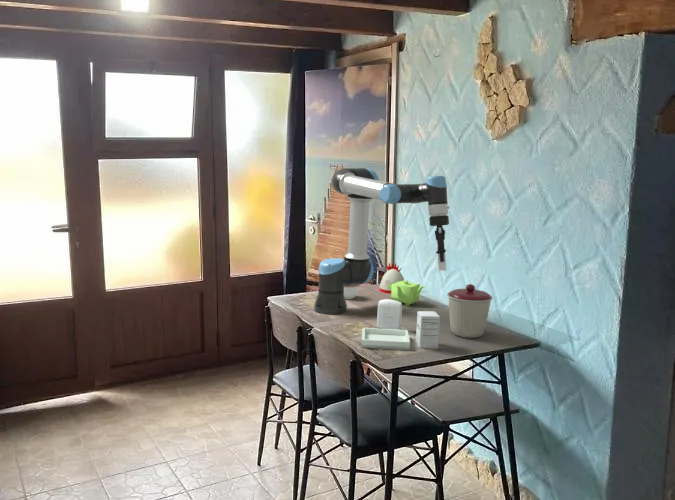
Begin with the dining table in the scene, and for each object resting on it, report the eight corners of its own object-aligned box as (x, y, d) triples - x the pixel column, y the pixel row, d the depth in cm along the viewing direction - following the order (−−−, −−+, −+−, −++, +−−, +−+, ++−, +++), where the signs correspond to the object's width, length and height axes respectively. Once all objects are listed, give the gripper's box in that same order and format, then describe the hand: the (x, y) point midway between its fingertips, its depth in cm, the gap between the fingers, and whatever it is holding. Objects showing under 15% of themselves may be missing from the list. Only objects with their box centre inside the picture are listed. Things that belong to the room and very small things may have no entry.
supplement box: (415, 342, 246) (417, 310, 244) (433, 342, 247) (435, 311, 245) (419, 348, 239) (421, 316, 237) (438, 348, 240) (440, 316, 237)
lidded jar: (335, 295, 318) (336, 277, 316) (356, 295, 319) (357, 277, 318) (338, 300, 307) (338, 281, 306) (359, 300, 309) (360, 281, 307)
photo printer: (401, 328, 264) (403, 299, 262) (399, 331, 260) (401, 302, 258) (378, 325, 267) (379, 297, 265) (375, 328, 263) (376, 299, 261)
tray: (361, 347, 237) (361, 339, 237) (362, 334, 253) (362, 327, 252) (409, 350, 236) (409, 342, 236) (407, 337, 252) (407, 329, 252)
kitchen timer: (383, 287, 341) (384, 259, 338) (408, 289, 336) (409, 262, 334) (376, 292, 328) (377, 264, 325) (402, 295, 323) (404, 266, 321)
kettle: (424, 306, 301) (425, 283, 299) (396, 307, 298) (397, 284, 296) (413, 299, 316) (414, 277, 314) (386, 299, 312) (387, 277, 310)
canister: (435, 332, 261) (438, 282, 257) (465, 325, 271) (468, 278, 268) (468, 343, 246) (472, 291, 243) (498, 336, 257) (503, 286, 253)
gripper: (449, 213, 234) (453, 270, 235) (447, 215, 259) (451, 267, 259) (428, 215, 235) (432, 272, 236) (429, 216, 260) (432, 268, 260)
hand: (442, 269), depth 248 cm, fingers open, 13 cm apart
